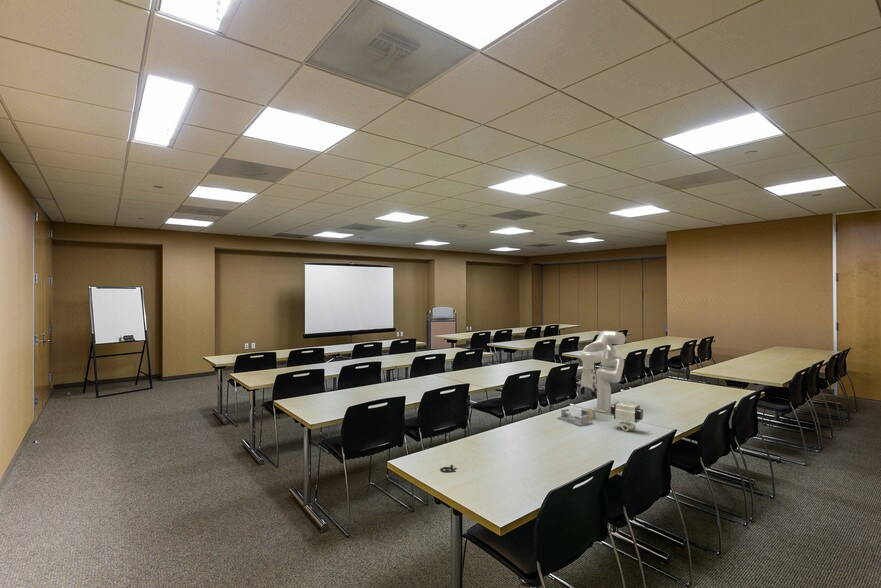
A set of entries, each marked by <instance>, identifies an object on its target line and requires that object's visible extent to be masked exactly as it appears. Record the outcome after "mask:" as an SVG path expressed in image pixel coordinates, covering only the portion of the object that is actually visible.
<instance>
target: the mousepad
mask: <svg viewBox="0 0 881 588" xmlns="http://www.w3.org/2000/svg"><path fill="white" fill-rule="evenodd" d="M439 470H440V472H441V473H447V474H449V473H456V472H457V467H454V465H453V464H450V466H444V467H441V468H440V469H439Z"/></svg>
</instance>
